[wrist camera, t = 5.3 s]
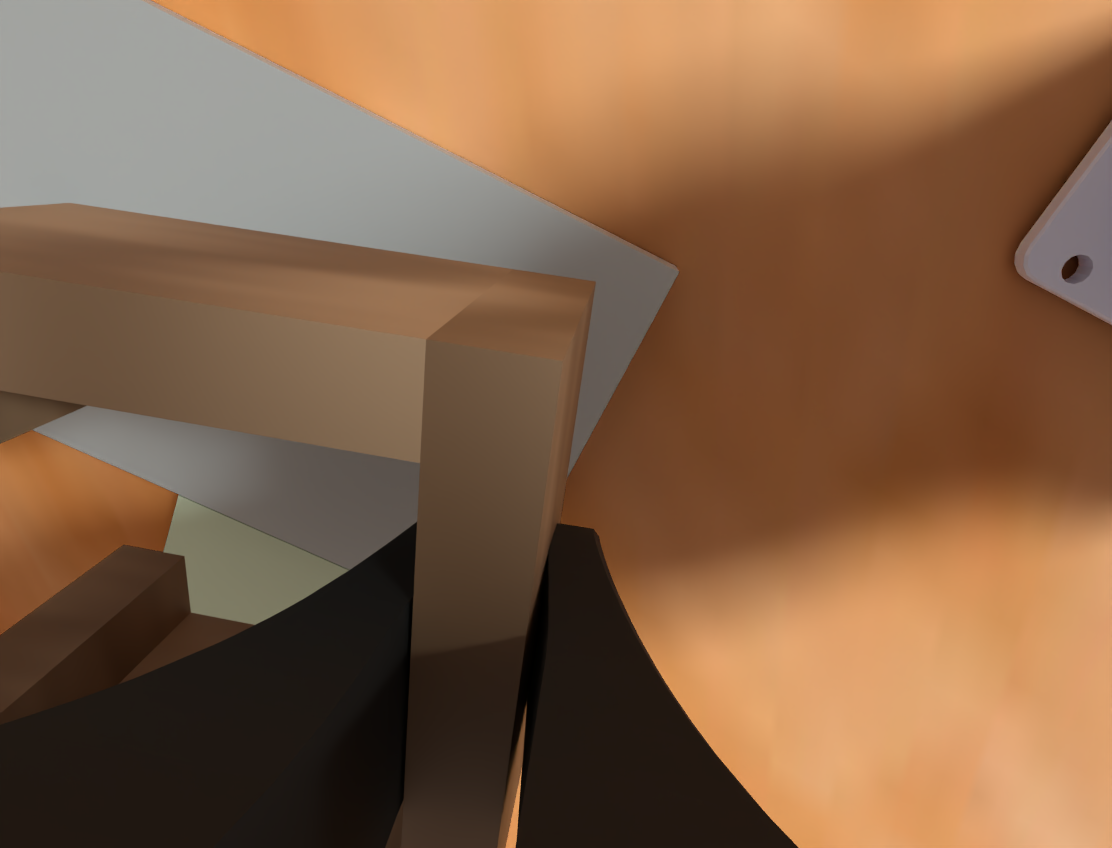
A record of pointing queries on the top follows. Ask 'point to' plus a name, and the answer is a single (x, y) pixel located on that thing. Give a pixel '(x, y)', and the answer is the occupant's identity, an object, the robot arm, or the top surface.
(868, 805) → the top surface
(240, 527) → the pad
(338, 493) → the stand
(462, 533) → the c link
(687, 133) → the top surface
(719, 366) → the top surface
